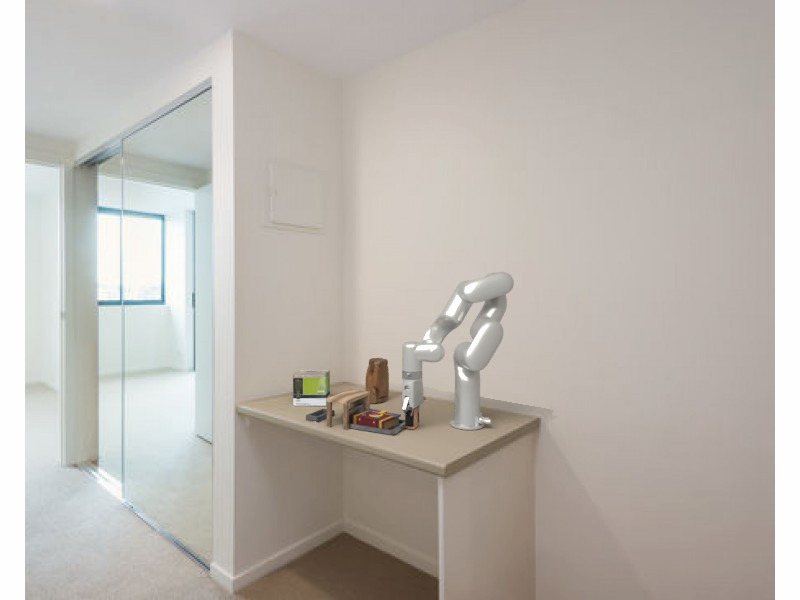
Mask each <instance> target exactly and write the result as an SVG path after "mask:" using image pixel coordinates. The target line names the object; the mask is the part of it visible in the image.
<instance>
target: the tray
mask: <svg viewBox="0 0 800 600" xmlns="http://www.w3.org/2000/svg"><path fill="white" fill-rule="evenodd" d="M364 410H365V403H361V404H358V405H356V406H354V407H352V408H349V429H353V430H354V429H355V430H360V431H365V432H373V433H379V434H385V435H391V436H395V435H397V434H399V432H401V431H402V430H405V429H408V430H409V429H410V430H415V429H416V428H418V427H419V423H418V408H413V416H414V426H413V427H409V426H405V419H400V418H399V423H401V424H400V425H399V426H397V427H396V428H395V427H394V428H392V429H390V430H389V429H383V428H376V427H370V426H364V425H357V424H352V415H354V414H357V413H360V412H363V411H364ZM408 410H411V409H408Z"/></svg>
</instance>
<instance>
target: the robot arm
mask: <svg viewBox="0 0 800 600" xmlns="http://www.w3.org/2000/svg"><path fill="white" fill-rule="evenodd" d="M514 284H515V283H514V279H513V276H512V275H511V274H510V273H509V272H505V271H497V272H491V273H487V274H486V275H485V276H483V277H478V278H475V279H471V280H470V279H469V280H463V281H460V283H458V284H457V286H456V287H455V289H454V290H453V292H452V294H451V296H450V298H449V299H448V301H447V303H446V304H445V306H444V308H443V310H441V313H440V314H439V315H438V316H437V317H436V319H435V320H434V322H433V323H432V324H431V325H430V326H429V328H428V329H427V331H426V333H425V334H424V336H423V338H422V340H421V341H420V342H419V341H406V342H403V343H402V347H401V348H402V349H401V353H402V354H401V358H402V359H401V361H402V362H401V364H402V365H401V368H402V370H401V373H402V374H401V379H402V389H401V405H402V411H403V412H404V420H405V426H409V427H413V426H414V416H413V408H418V424H419V423H420V407H421V405H423V403H424V401H425V400H424V383H423V362H426V363H427V362H428V363H438V362H440V361H441V360H443V358H444V357H445V354H446V350H445V348H444V346H443V345H442V343H443V342H444V340H445V338H446V337H447V336H448V335H449V334H450V333H451V332H452V331H454V330H456V329H457V328H458V327H459V326H461V325H462V323H463V321H464V320H465V317H467V314H468V312H469V311H470V309H471V307H472V306H473V305H474V304H478V303H483V302H484V303H483V306H482V307H481V309H480V311H479V312H478V315H476V317H475V319H474V321H473V322H472V323H471V325H470V329H469V334H470V336H471V339H472V340H471V342H470V341H463V342H460V343H458V345H456V347H455V348H454V351H453V355H452V357H453V366H454V418H453V419H451V420H450V425H451V427H453V428H455V429H457V430H464V431H465V430H466V431H476V430H480V429H482V428H484V427H485V424H486V425H492V419H491V418H490V417H488V416H487V417H484V416H483V412H481V371H482V370H484V369H486V367H487V366H488V365H489V363H490V362H491V360H492V358H493V357H494V355H495V354H496V351H497V350H498V348H499V346H500V344H501V343H502V340H503V339H504V338H503V337H504V328H503V325H502V324H501V321H502V319H503V317H504V316H505V313H506V312H507V311H506V310H507V306H508V300H507V299H508V298H507V294H509V293H510V292H511V291H512V290H513V288H514V286H515V285H514ZM408 409H411V410H408Z"/></svg>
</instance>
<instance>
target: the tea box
mask: <svg viewBox="0 0 800 600" xmlns="http://www.w3.org/2000/svg"><path fill="white" fill-rule="evenodd" d="M330 372H331V371H330V369H307V370H306V369H305V370H304V369H303V370H302V369H299V370H297V371H296V372H294V373H292V402H293V403H292V406H293V407H301V406H302V407H305V406H307V407H311V406H314V407H317V406H318V407H327V398H329V397H331V379H330V377H331V373H330Z"/></svg>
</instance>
